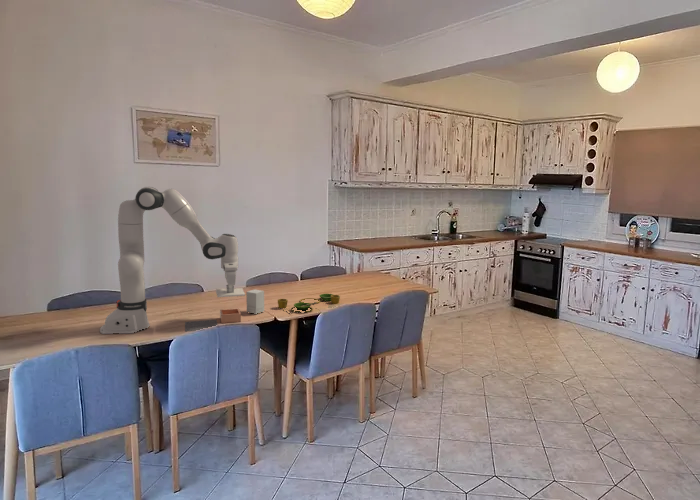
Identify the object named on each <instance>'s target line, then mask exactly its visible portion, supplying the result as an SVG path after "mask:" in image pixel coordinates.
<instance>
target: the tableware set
mask: <svg viewBox="0 0 700 500" xmlns="http://www.w3.org/2000/svg"><path fill="white" fill-rule="evenodd" d="M318 296H319V298H320V299H319V298H313V297H307V298H301V299H300V300H299V302H295V303H294V304H293V307H291V308H290V311H291V312H293V311H294V310H292V309H293V308H295V307H296V308H297V310H302V311H305V312H309V313H310V312H312V311H313V310H314V308H312V307H311V306H314V305H317V304H319V303H320V302H321V300H322V301H323V300H324V302H331V304H328V307H327V308H328V309H330V308H332V307H333V308H337V307H336V306H340V305H342V303H340V300H341V295H340V294H332V293H320V294H319V295H318ZM305 299H314V300H318V301H319V302H314V303H304V302H301V301H302V300H305ZM288 301H289V300H288V299H287V298H278V299H277V306H278V309H279V308H286V307H288ZM316 303H317V304H316ZM308 308H310V309H311V310H310V311H306V310H308ZM286 309H287V308H286ZM295 312H300V311H295ZM295 312H294V313H295Z"/></svg>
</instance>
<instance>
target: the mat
mask: <svg viewBox="0 0 700 500" xmlns="http://www.w3.org/2000/svg"><path fill="white" fill-rule="evenodd" d="M216 325H218V326H219V324H218V320H217V319H209V320H208V319H206V320H193V321H184V332H196V330H200V329H203V328H208V327H212V326H216ZM200 331H201V330H200Z"/></svg>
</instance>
